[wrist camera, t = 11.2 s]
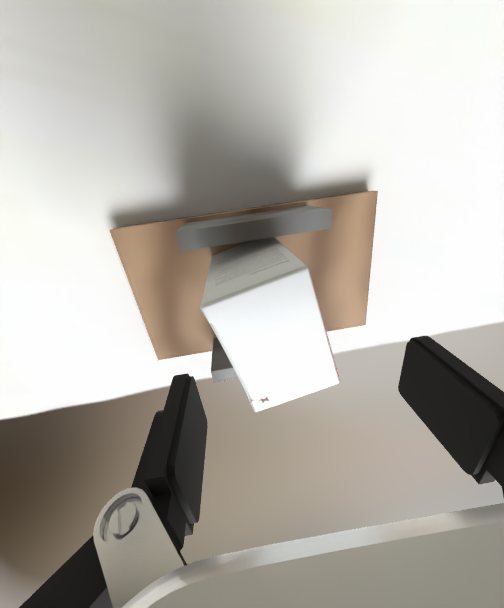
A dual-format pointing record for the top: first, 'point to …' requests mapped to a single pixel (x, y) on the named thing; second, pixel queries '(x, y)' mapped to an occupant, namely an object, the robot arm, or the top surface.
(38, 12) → the top surface
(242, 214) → the holder stand
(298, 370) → the small box
